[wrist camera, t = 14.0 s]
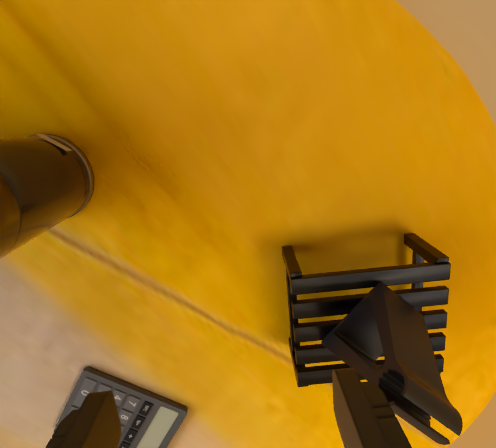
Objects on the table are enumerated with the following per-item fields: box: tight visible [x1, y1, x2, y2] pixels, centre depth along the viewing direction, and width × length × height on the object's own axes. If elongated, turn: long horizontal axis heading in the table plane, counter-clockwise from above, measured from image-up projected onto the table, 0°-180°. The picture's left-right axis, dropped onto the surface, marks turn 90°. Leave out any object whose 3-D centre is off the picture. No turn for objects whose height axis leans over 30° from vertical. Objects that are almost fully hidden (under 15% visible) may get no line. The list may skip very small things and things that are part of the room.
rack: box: [282, 233, 451, 387], centre depth 42 cm, size 16×14×8 cm
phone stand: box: [322, 282, 462, 445], centre depth 32 cm, size 9×6×12 cm, turn 141°
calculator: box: [54, 367, 188, 448], centre depth 50 cm, size 12×1×15 cm
